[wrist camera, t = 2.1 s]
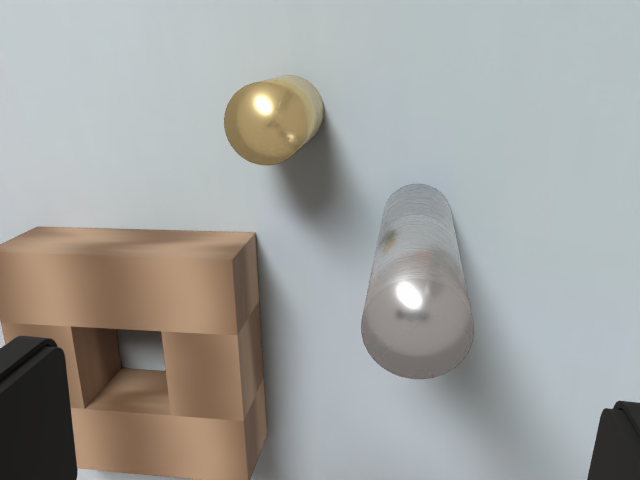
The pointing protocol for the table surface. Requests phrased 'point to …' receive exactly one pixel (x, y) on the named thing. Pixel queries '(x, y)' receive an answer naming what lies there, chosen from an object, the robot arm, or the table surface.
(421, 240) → the long pin
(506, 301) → the table surface
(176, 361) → the socket block
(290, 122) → the short pin
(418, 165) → the table surface
